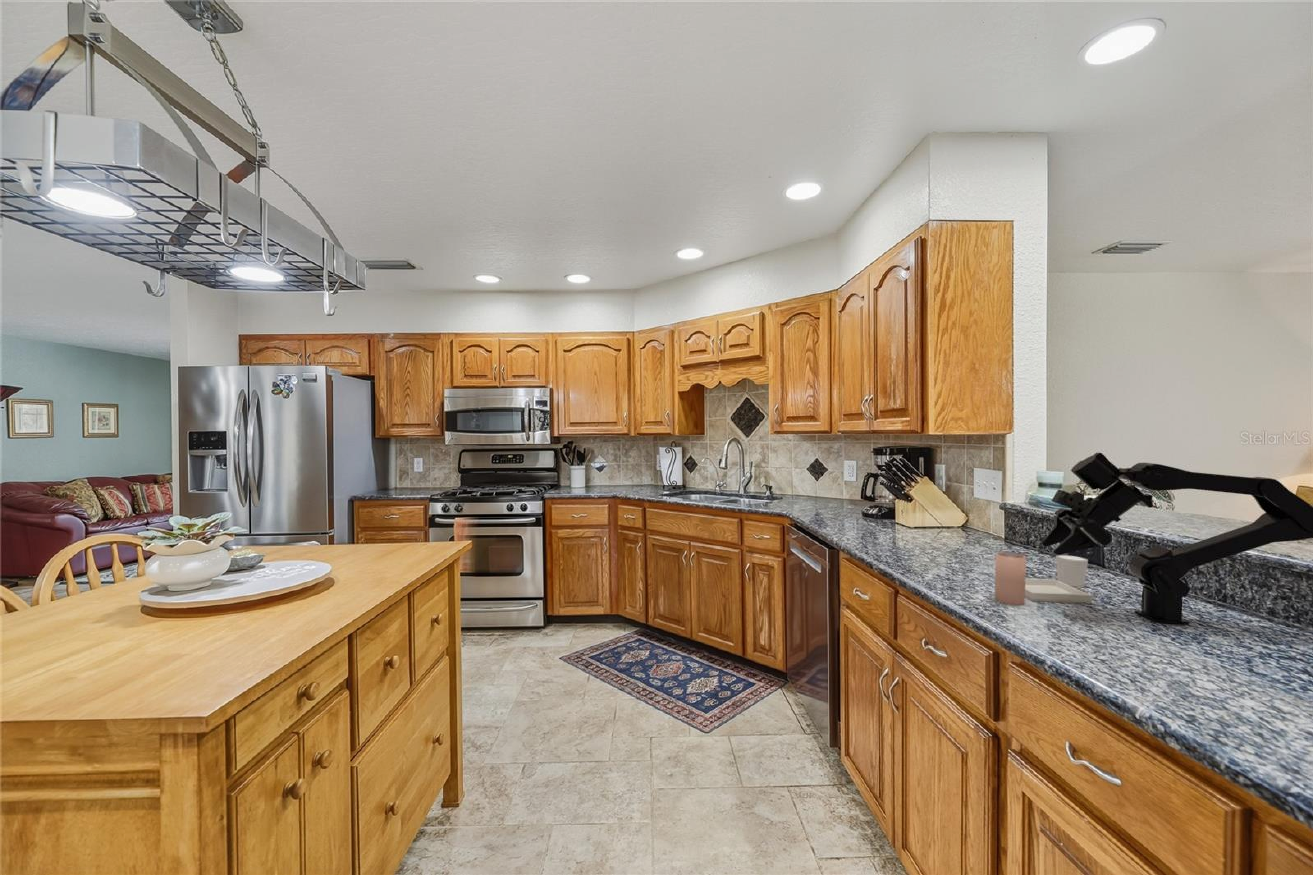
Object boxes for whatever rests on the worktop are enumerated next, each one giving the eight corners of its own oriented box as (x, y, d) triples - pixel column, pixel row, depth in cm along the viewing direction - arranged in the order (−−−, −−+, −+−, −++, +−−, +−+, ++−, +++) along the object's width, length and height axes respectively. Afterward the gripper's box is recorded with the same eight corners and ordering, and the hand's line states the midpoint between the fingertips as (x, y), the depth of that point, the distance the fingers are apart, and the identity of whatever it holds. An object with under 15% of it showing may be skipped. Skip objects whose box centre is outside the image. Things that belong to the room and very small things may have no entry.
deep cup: (1030, 605, 123) (1031, 558, 123) (1003, 604, 124) (1004, 557, 124) (1015, 597, 129) (1016, 552, 129) (989, 596, 130) (990, 551, 130)
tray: (1091, 603, 125) (1091, 595, 125) (1032, 601, 127) (1033, 593, 127) (1055, 587, 138) (1056, 579, 138) (1002, 585, 140) (1003, 577, 139)
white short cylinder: (1075, 580, 145) (1076, 555, 145) (1094, 588, 138) (1094, 561, 138) (1049, 579, 146) (1049, 554, 146) (1065, 587, 139) (1066, 560, 139)
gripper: (1065, 475, 130) (1011, 516, 134) (1095, 482, 113) (1031, 529, 117) (1104, 509, 127) (1047, 551, 131) (1141, 522, 110) (1074, 569, 114)
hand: (1049, 549), depth 124 cm, fingers open, 9 cm apart
